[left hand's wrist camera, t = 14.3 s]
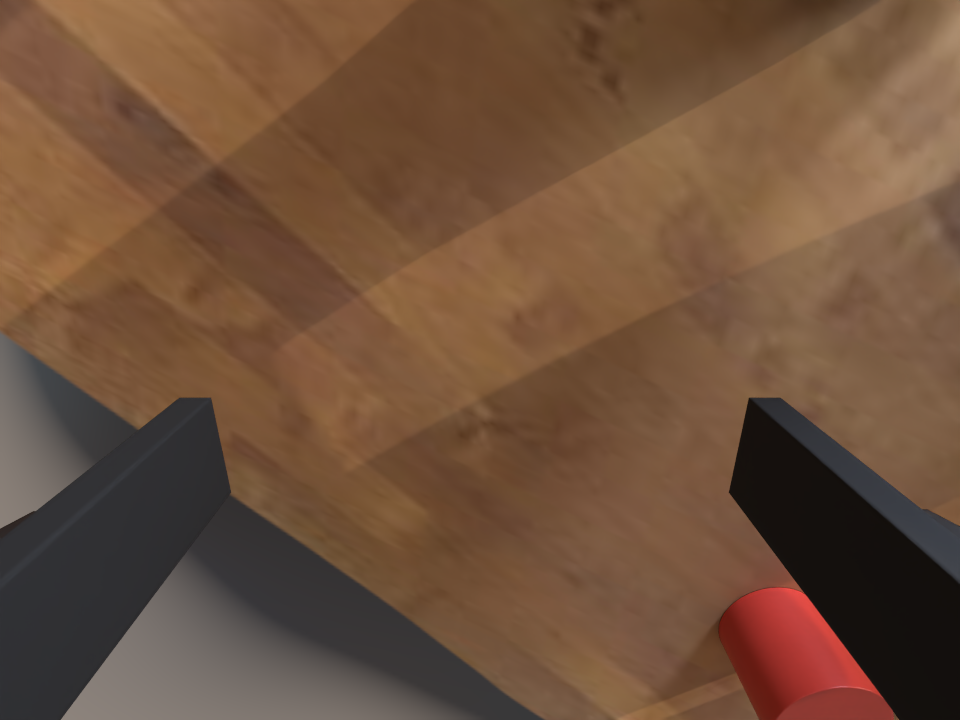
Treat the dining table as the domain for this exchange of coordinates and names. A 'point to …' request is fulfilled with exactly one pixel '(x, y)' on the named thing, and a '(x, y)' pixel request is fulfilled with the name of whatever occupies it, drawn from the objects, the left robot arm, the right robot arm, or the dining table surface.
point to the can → (795, 661)
